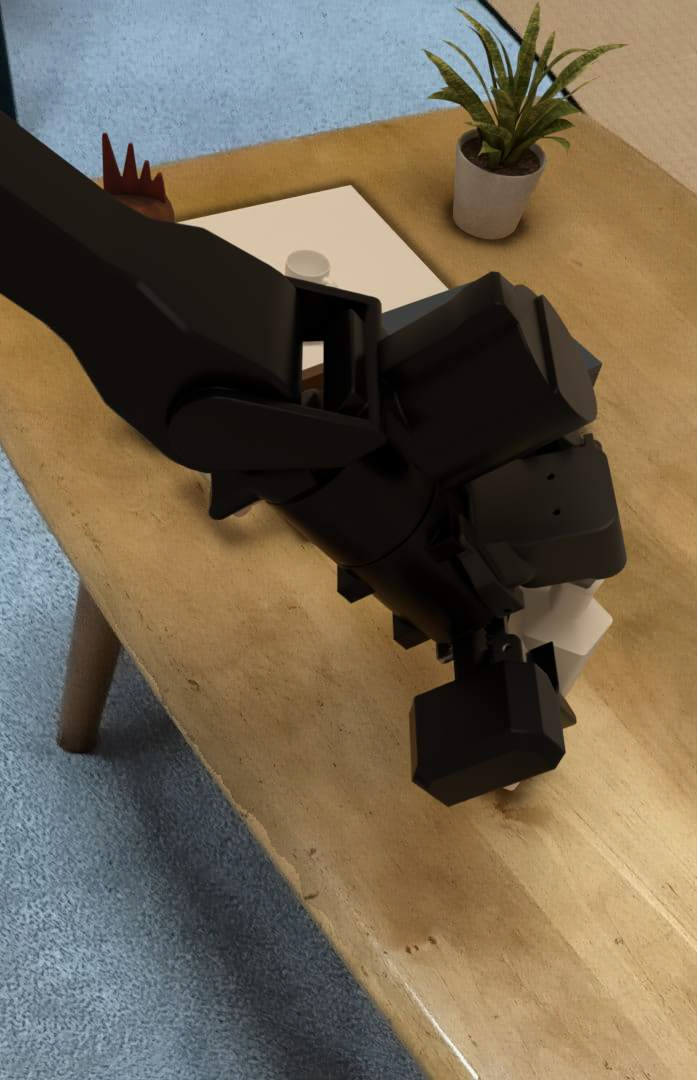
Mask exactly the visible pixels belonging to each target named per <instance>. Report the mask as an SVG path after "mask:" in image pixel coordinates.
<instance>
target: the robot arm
mask: <svg viewBox="0 0 697 1080" xmlns="http://www.w3.org/2000/svg"><path fill="white" fill-rule="evenodd" d="M504 278H505V276H503V275H502V273H501V272H499V271H494V270H491V271H489V272H487V273H486V274H484V275H481V276H480V277H479V278H477V279H475V280H473V281H474V282H472V281H471V282H472V283H470V284H469V285H467V286H466V287H464V288H463V289H462V290H461V291H459V292H458V293H457V294H456V295H455V296H454V297H453V298H452V299H451V300H449V301H448V302H446V303H445V304H443V305H441V306H439V307H438V308H436V309H434V310H432V311H431V312H429V313H427V314H425V315H424V316H422V317H420V318H418V319H417V320H415V321H413V322H411V323H410V324H408V325H406V326H404V327H403V328H401V329H399V330H397V331H396V332H394V333H392V334H391V335H389V333H388V332H387V331H386V330H385V329H384V328H383V327H382V304H381V302H380V300H379V299H378V298H376V297H373V296H368V295H364V294H360V293H356V292H352V291H347V290H343V289H339V288H335V287H331V286H327V285H322V284H318V283H314V282H310V281H306V280H301V279H297V278H293V277H289V276H285V275H283V274H282V273H281V272H279V271H278V270H276V269H275V268H273V267H272V266H270V265H269V264H267V263H265V262H263V261H262V260H260V259H258V258H256V257H255V256H253V255H251V254H249V253H247V252H246V251H244V250H242V249H240V248H239V247H237V246H235V245H233V244H231V243H230V242H228V241H226V240H224V239H223V238H221V237H219V236H217V235H216V234H214V233H212V232H210V231H208V230H207V229H204V228H202V227H197V226H192V225H186V224H180V223H177V222H175V223H174V222H169V221H163V220H157V219H152V218H150V217H147V216H145V215H144V214H142V213H140V212H138V211H136V210H134V209H133V208H131V207H129V206H127V205H125V204H124V203H122V202H120V201H119V200H117V199H116V198H114V197H113V196H112V195H110V194H109V193H108V192H106V191H105V190H104V187H103V188H102V187H101V186H100V185H99V184H98V183H96V182H95V181H94V180H92V179H91V178H89V177H88V176H87V175H86V174H84V173H83V172H81V171H80V170H79V169H78V168H76V167H75V166H74V165H72V164H71V163H70V162H69V161H67V160H66V158H63V157H62V156H61V155H60V154H58V153H57V152H55V151H54V150H53V149H52V148H50V147H49V146H48V145H47V144H45V143H43V141H41V140H40V139H39V138H37V137H36V136H35V135H34V134H32V133H31V132H29V131H28V130H27V129H25V128H24V127H23V126H22V125H21V124H19V123H18V122H16V121H15V120H14V119H12V118H11V117H10V116H8V115H7V114H6V113H4V112H3V111H2V110H0V295H1V296H2V297H4V298H5V299H7V300H9V301H10V302H11V303H13V304H15V305H16V306H17V307H19V308H20V309H21V310H23V311H25V312H26V313H28V314H29V315H31V316H32V317H33V318H35V319H36V320H38V321H40V323H42V324H44V325H45V327H47V328H48V329H49V330H50V331H51V332H52V333H54V334H55V335H56V336H57V338H59V339H60V340H61V341H62V342H64V344H66V345H67V347H68V348H69V349H70V351H71V352H72V354H73V355H74V357H75V358H76V360H77V362H78V364H79V365H80V367H81V368H82V370H83V371H84V373H85V375H86V376H87V378H88V379H89V381H90V383H91V384H92V386H93V387H94V389H95V391H96V392H97V394H98V395H99V397H100V399H101V400H102V402H103V403H104V404H105V405H106V407H108V408H109V409H110V410H111V411H112V412H113V413H115V414H116V416H118V417H119V418H120V419H121V420H123V422H125V423H126V424H127V425H128V426H129V427H131V429H133V430H134V431H135V432H136V433H137V434H138V435H140V436H141V437H142V438H143V439H144V440H145V441H146V442H147V443H148V444H150V446H152V447H153V448H154V449H155V450H156V451H158V452H159V453H160V454H161V455H162V456H164V457H165V458H166V459H168V460H169V461H171V462H173V463H175V464H177V465H179V466H182V467H184V468H187V469H188V470H191V471H195V472H198V471H199V472H202V473H206V474H209V473H210V475H211V485H209V497H208V507H207V515H208V517H209V518H210V519H211V520H214V521H223V520H226V519H227V518H229V517H231V516H234V514H235V513H237V512H238V511H240V510H242V509H244V508H246V507H248V506H250V505H252V504H253V503H256V502H258V501H263V502H264V503H265V504H267V505H268V506H269V507H270V508H271V509H272V510H274V511H275V512H276V513H277V514H279V516H281V518H283V519H284V520H285V521H287V522H288V524H290V525H291V526H292V527H293V528H295V529H296V530H297V531H298V532H299V533H300V534H301V535H303V536H304V537H305V538H306V539H307V540H308V541H309V542H310V543H312V544H313V546H315V547H316V548H317V549H319V550H320V551H321V552H322V553H323V554H324V555H326V556H327V557H328V558H329V559H330V560H332V562H333V563H335V564H336V592H337V593H338V594H339V595H340V596H342V598H344V599H345V600H346V601H347V602H348V603H350V604H354V603H356V602H358V601H361V600H362V599H365V598H367V597H369V596H371V595H372V596H373V597H374V598H375V599H376V600H378V601H379V602H380V603H381V604H382V605H383V606H384V607H385V608H387V609H388V610H389V611H390V612H391V614H392V617H391V618H392V638H393V641H395V642H396V643H397V644H398V645H400V646H401V647H402V648H403V649H404V650H405V651H408V650H410V649H412V648H415V647H417V646H420V645H421V644H424V643H427V642H429V641H433V642H434V645H435V658H436V660H437V661H438V662H439V663H440V664H442V665H447V664H448V663H451V662H453V663H452V664H453V675H454V679H453V680H451V681H448V682H446V683H443V684H441V685H439V686H437V687H434V688H432V689H429V690H427V691H424V692H421V693H419V694H417V695H415V696H413V699H412V702H411V705H410V708H409V711H408V728H409V729H408V731H409V753H410V754H409V755H410V776H411V783H413V784H414V785H415V786H416V787H418V788H419V789H421V790H423V792H425V793H427V794H428V795H429V796H431V797H432V798H433V799H435V800H436V801H437V802H439V803H441V804H442V805H443V806H445V807H446V808H451V807H454V806H456V805H458V804H461V803H465V802H467V801H470V800H473V799H477V798H478V797H481V796H484V795H487V794H490V793H493V792H495V791H497V790H501V789H504V787H507V786H509V785H512V784H515V783H518V782H520V783H521V782H523V781H526V780H529V779H531V778H534V777H537V776H540V775H543V774H545V773H548V772H552V771H554V770H556V769H557V767H558V766H559V764H560V763H561V761H562V759H563V758H564V756H565V755H566V753H567V750H566V741H565V736H564V729H567V728H569V727H572V726H575V725H576V724H577V723H578V720H577V716H576V713H575V712H574V710H573V709H572V707H571V706H570V704H569V702H568V700H567V699H566V698H564V697H563V696H562V694H561V693H560V692H559V680H558V673H557V666H556V659H555V652H554V645H553V641H551V642H548V643H546V644H543V645H541V646H538V647H536V648H534V649H531V650H529V651H528V650H527V649H526V648H525V645H524V642H523V641H522V640H521V639H520V638H519V637H518V636H517V635H515V634H509V630H508V621H509V617H510V614H512V613H515V612H517V611H519V610H522V609H524V608H525V604H524V596H523V591H522V590H521V589H520V588H519V586H522V587H525V588H541V587H546V586H552V585H557V584H562V583H568V582H573V581H579V580H584V579H595V580H601V579H604V580H607V579H610V578H612V577H615V576H617V575H618V574H619V573H621V572H622V571H623V570H624V569H625V567H626V565H627V562H628V557H627V550H626V544H625V539H624V534H623V530H622V529H623V528H622V524H621V518H620V513H619V507H618V503H617V499H616V494H615V489H614V484H613V478H612V474H611V468H610V463H609V459H608V456H607V454H606V453H605V452H604V451H603V445H602V443H601V442H600V441H599V440H596V439H595V438H594V434H593V433H592V432H590V433H585V434H583V435H582V436H581V435H580V430H579V429H581V428H584V427H585V426H588V425H589V424H591V423H593V422H595V421H596V420H597V416H598V402H597V398H596V393H595V390H594V388H593V386H592V382H591V379H590V377H589V374H588V371H587V369H586V366H585V364H584V361H583V359H582V357H581V355H580V353H579V350H578V348H577V346H576V344H575V342H574V341H573V339H572V337H573V336H572V335H571V332H570V331H569V330H568V328H567V326H566V324H565V323H564V321H563V319H562V318H561V316H560V314H559V313H558V312H557V311H556V309H555V307H554V306H553V304H552V302H550V300H548V298H547V297H546V296H545V295H544V294H539V295H537V294H536V293H535V292H534V291H533V290H532V289H531V288H530V287H528V286H526V285H525V284H519V283H518V284H515V285H514V287H512V288H511V286H510V285H509V284H508V282H507V281H506V280H505V279H504ZM571 336H572V337H571ZM313 341H323V390H321V391H318V390H317V389H309V390H306V391H304V392H303V393H302V363H303V342H313ZM199 472H198V473H199Z"/></svg>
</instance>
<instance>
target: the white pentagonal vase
mask: <svg viewBox="0 0 697 1080" xmlns="http://www.w3.org/2000/svg"><path fill="white" fill-rule="evenodd" d="M604 581H605V579H601V580H595V579H584V580H579V581H573V582H568V583H562V584H557V585H552V586H546V587H541V588H525V587H522V586H519V588H520V589H521V590H522V591H523V596H524V604H525V608H524V609H522V610H519V611H517V612H515V613H512V614H510V617H509V621H508V630H509V634H515V635H517V636H518V637H519V638H520V639H521V640H522V641H523V642H524V645H525V648H526V649H527V650H528V651H529V650H531V649H534V648H536V647H538V646H541V645H543V644H546V643H548V642H551V641H553V645H554V652H555V659H556V666H557V673H558V680H559V692H560V693H561V694H562V696H563V697H564V698H565V699H566V697H567V696H568V695H569V693H570V691H571V690H572V688H573V686H574V685H575V683H576V682H577V680H578V679H579V677H580V675H581V674H582V673H583V670H584V669H585V667H586V665H587V664H588V663H589V661H590V659H591V658H592V656H593V654H594V653H595V651H596V649H597V648H598V647H599V644H600V643H601V641H602V640H603V638H604V636H605V635H606V633H607V632H608V630H609V628H610V627H611V625H612V624H613V622H614V619H613V617H612V616H611V614H609V612H607V610H605V608H604V607H603V606H602V605H601V604H600V603H599V602H598V601H597V600H596V599H595V598H594V595H595V592H596V591H597V590H598V589H599V588H600V586H601V585H602V584H603V583H604ZM520 783H521V782H518V783H515V784H512V785H509V786H507V787H504V788H503V789H504V790H507V791H514V790H515V789H516V788H517V787H518V785H519V784H520Z"/></svg>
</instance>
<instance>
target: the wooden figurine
mask: <svg viewBox="0 0 697 1080" xmlns="http://www.w3.org/2000/svg"><path fill="white" fill-rule="evenodd" d="M134 148H135V147H134V144H133V143H132V142H128V143H127V149H126V155H125V160H124V165H123V171H122V174H121V172H120V168H119V165H118V163H117V159H116V156H115V153H114V150H113V147H112V143H111V141H110V137H109V134H108V133H107V132H102V134H101V154H102V159H101V160H102V185H103V189H104V190H105V191H106V192H108V193H109V194H110V195H112V196H113V197H114V198H116V199H117V200H119V201H120V202H122V203H124V204H125V205H127V206H129V207H131V208H133V209H134V210H136V211H138V212H140V213H142V214H144V215H145V216H147V217H150V218H152V219H157V220H163V221H169V222H174V223H176V218H175V210H174V207H173V205H172V202H171V201H170V199H169V197H168V196H167V192H166V185H165V181H164V176H163V173H162V172H161V171H159V172H157V173H156V175H155V176H154V178H153V179H152V174H151V166H150V161H149V160H147V159H145V160H144V161H143V165H142V169H141V173H140V175H138V170H137V169H138V168H137V162H136V154H135V149H134ZM138 176H140V177H138Z"/></svg>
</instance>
